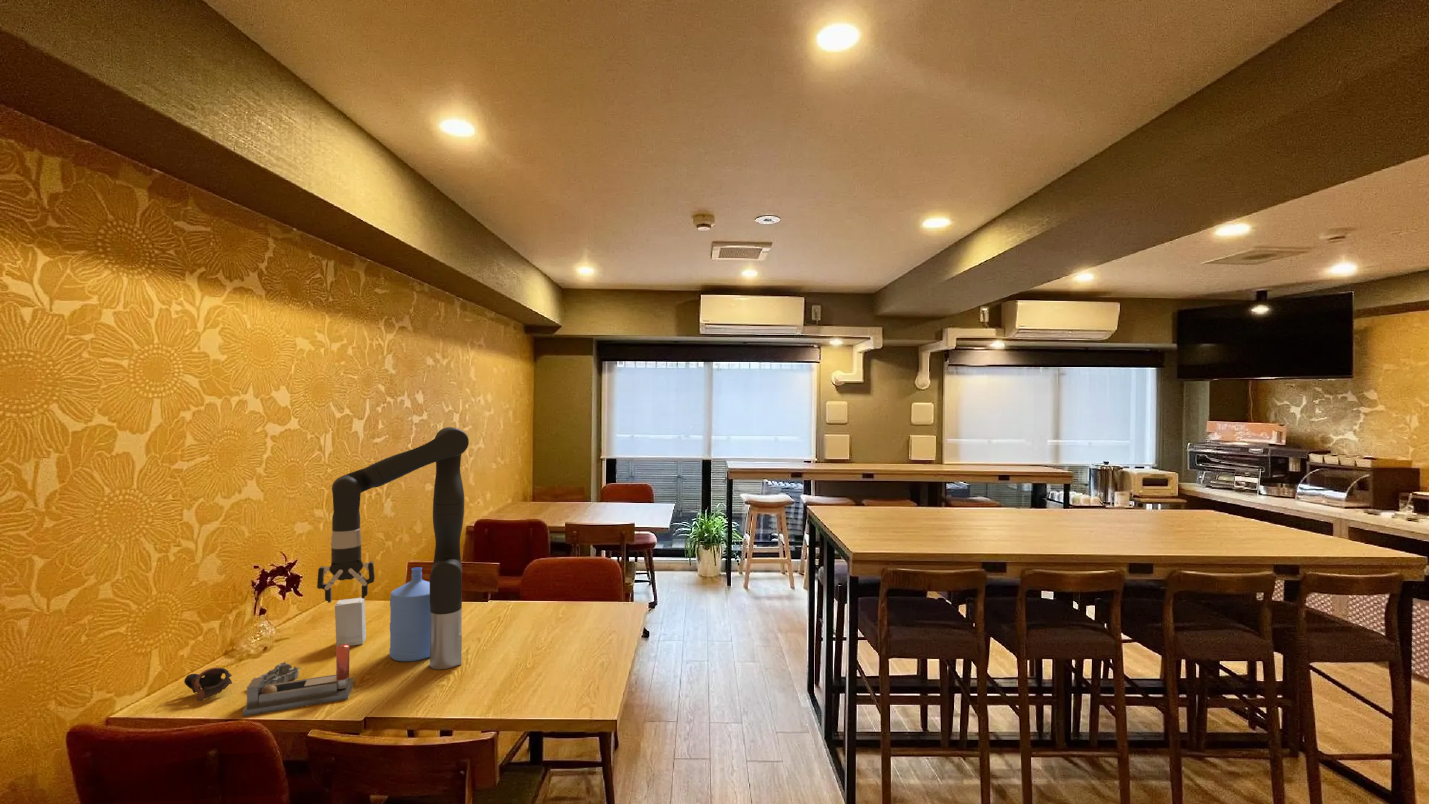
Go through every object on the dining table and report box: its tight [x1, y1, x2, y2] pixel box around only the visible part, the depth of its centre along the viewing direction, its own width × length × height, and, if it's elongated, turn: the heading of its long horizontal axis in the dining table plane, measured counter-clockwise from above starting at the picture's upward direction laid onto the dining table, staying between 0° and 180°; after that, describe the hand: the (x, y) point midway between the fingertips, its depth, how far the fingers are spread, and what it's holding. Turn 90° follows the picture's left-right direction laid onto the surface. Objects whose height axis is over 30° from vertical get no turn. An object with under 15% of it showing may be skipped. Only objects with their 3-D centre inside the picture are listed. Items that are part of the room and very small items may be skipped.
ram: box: [304, 644, 351, 689], centre depth 172 cm, size 11×4×11 cm, turn 114°
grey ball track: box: [242, 674, 355, 717], centre depth 169 cm, size 24×11×6 cm, turn 114°
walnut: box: [261, 685, 277, 694], centre depth 166 cm, size 4×4×4 cm
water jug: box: [389, 566, 430, 663], centre depth 201 cm, size 16×16×28 cm
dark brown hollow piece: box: [183, 666, 233, 703], centre depth 171 cm, size 12×10×8 cm
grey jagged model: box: [250, 661, 302, 687], centre depth 179 cm, size 11×8×4 cm
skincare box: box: [334, 596, 367, 647], centre depth 208 cm, size 8×6×15 cm
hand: (346, 599), depth 177 cm, fingers open, 8 cm apart
